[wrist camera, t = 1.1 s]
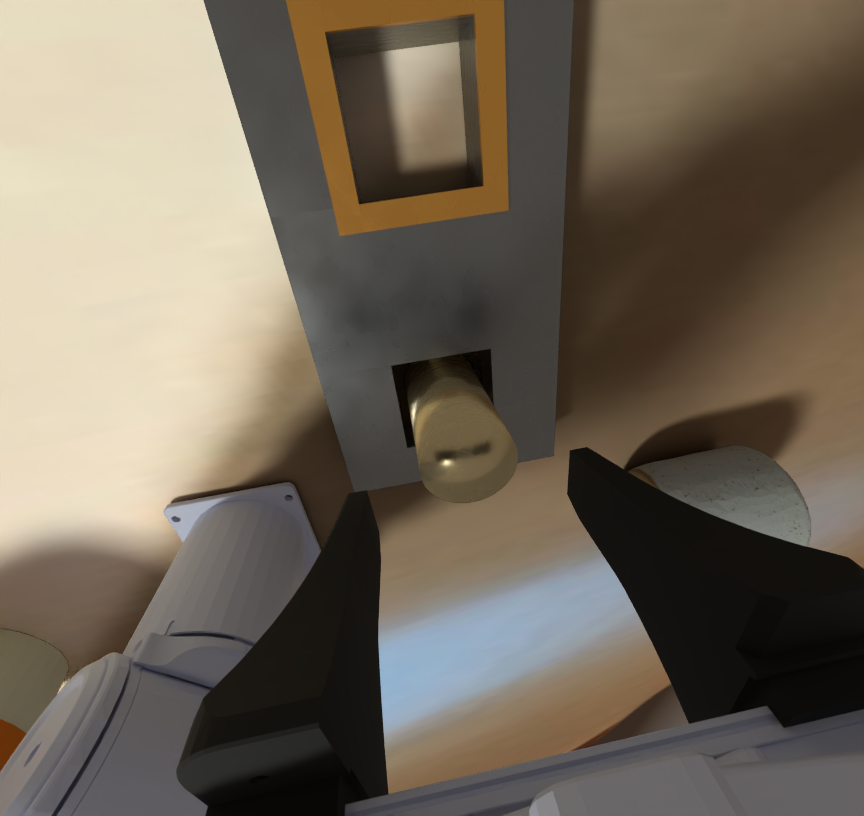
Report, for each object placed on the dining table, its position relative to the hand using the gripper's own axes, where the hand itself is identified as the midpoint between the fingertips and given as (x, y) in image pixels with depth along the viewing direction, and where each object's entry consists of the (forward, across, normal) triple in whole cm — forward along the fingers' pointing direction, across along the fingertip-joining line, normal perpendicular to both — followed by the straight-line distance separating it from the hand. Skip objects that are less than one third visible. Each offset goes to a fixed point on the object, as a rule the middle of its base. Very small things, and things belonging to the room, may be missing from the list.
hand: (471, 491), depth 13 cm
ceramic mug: (+10, -16, +13) cm, 23 cm away
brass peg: (+10, 0, 0) cm, 10 cm away
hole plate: (+10, 0, -6) cm, 11 cm away
